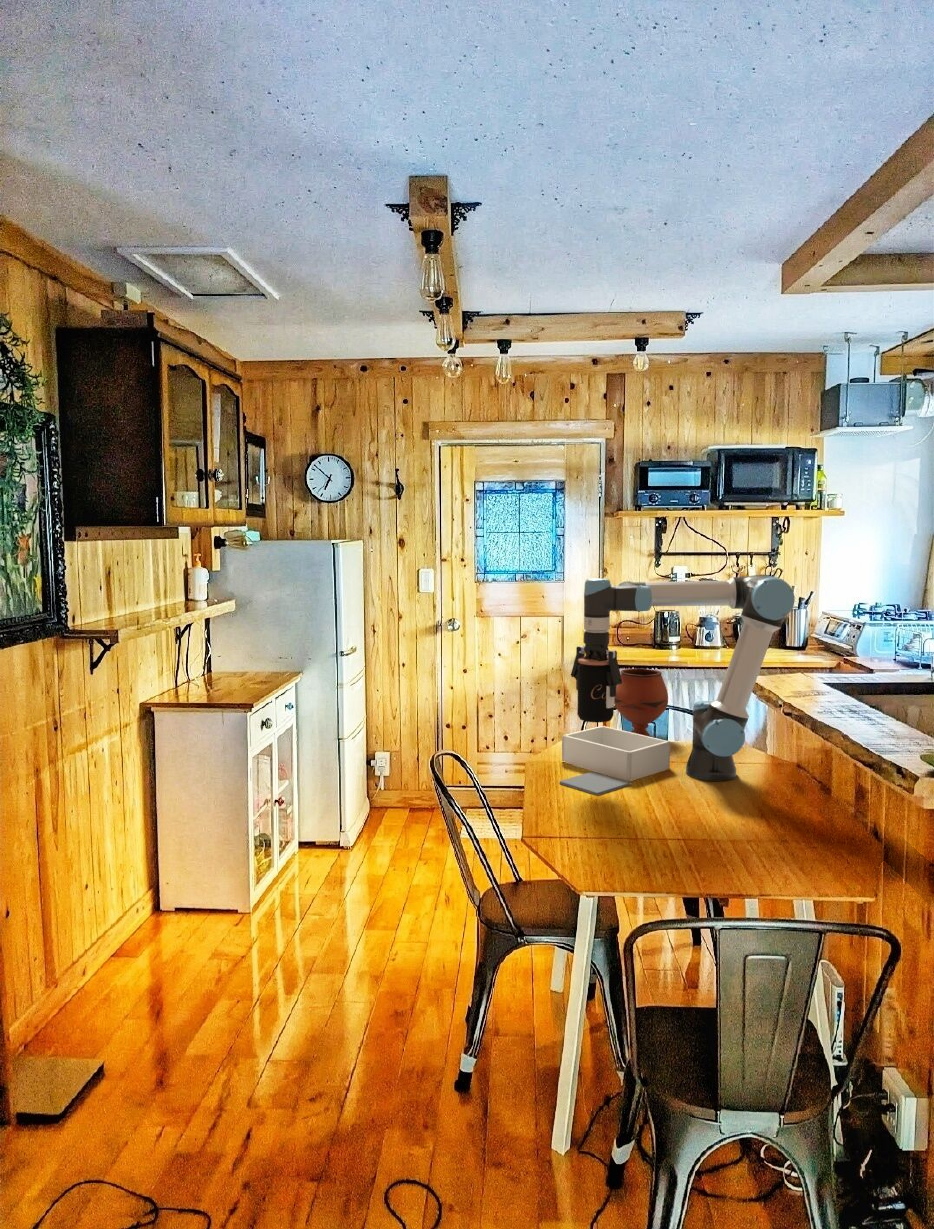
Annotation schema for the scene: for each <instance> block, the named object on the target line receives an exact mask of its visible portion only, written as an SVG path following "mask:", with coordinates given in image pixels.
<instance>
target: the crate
mask: <svg viewBox="0 0 934 1229" xmlns="http://www.w3.org/2000/svg"><path fill="white" fill-rule="evenodd" d="M670 757H671V741H669V740H665V739H663V738H662V739H660V738H656V737H652V736H651V737H649V736H644V735H640V734H636V733H632V731H627V730H623V729H618V728H614V727H609V726H605V725H601V726H597V727H592V728H587V729H584V730H578V731H575V732H571V733H567V734H563V735H562V736H561V762H562V761H565V762H567V763H569V764H568V765H570V764H572V765H571V766H573V765H574V767H577V768H581V769H584V770H587V771H590V772H596V773H599V774H603V775H606V776H610V777H613V778H617V779H620V780H624V781H627V782H633V781H634V780H635V781H636V780H639V779H641V778H645V777H648V776H652V775H654V774H659V773H661V772H664V771H668V770H670V768H671V767H670V764H671V762H670V760H671V758H670Z"/></svg>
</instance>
